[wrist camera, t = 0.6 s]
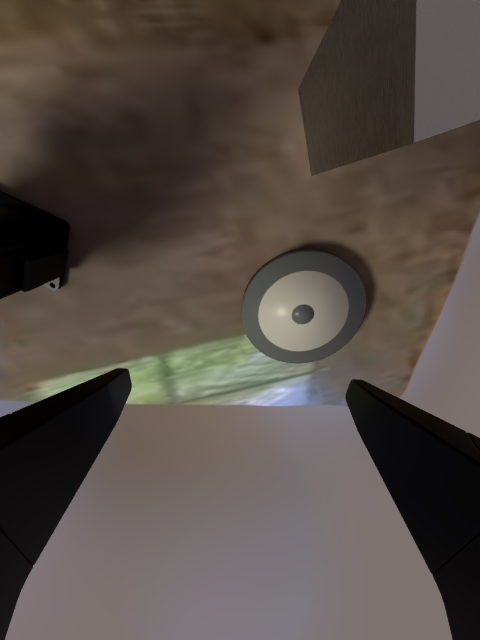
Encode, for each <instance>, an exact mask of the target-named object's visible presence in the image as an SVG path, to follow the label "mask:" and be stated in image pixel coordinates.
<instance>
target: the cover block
mask: <svg viewBox="0 0 480 640" xmlns="http://www.w3.org/2000/svg"><path fill="white" fill-rule="evenodd" d="M298 91H299V98H300V104H301V111H302V117H303V124H304V131H305V137H306V144H307V150H308V157H309V163H310V170H311V176H313V175H316V174H319V173H322V172H325V171H328V170H331V169H334V168H338V167H341V166H344V165H347V164H350V163H353V162H356V161H359V160H362V159H365V158H369V157H372V156H375V155H378V154H381V153H384V152H387V151H390V150H393V149H397V148H400V147H403V146H406V145H409V144H412V143H415V142H418V141H421V140H424V139H426V138H429V137H432V136H435V135H438V134H441V133H444V132H446V131H449V130H452V129H455V128H458V127H461V126H464V125H466V124H469V123H472V122H475V121H478V120H480V0H341V1H340V3H339V5H338V8H337V10H336V12H335V14H334V16H333V18H332V20H331V22H330V24H329V26H328V28H327V30H326V33H325V35H324V37H323V39H322V41H321V43H320V45H319V47H318V49H317V51H316V53H315V55H314V58H313V60H312V62H311V64H310V66H309V68H308V70H307V72H306V74H305V76H304V78H303V80H302V83H301V85H300V87H299V89H298Z"/></svg>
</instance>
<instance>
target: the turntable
mask: <svg viewBox="0 0 480 640" xmlns="http://www.w3.org/2000/svg"><path fill="white" fill-rule="evenodd" d="M365 311H366V293H365V288H364V286H363V283H362V281H361V279H360V277H359V275H358V274H357V273H356V272H355V270H354V269H353V268H352V267H351V266H349V265H348V264H347V263H346V262H344V261H343V260H341V259H340V258H338V257H336V256H335V255H332V254H330V253H328V252H324V251H321V250H314V249H301V250H294V251H290V252H286V253H284V254H281V255H279V256H277V257H275V258H273V259H272V260H270V261H269V262H267V263H266V264H264V265H263V266H262V267H261V268H260V269H259V270H258V271H257V272H256V273H255V275H254V276H253V277H252V279H251V280H250V282H249V283H248V285H247V288H246V290H245V293H244V296H243V302H242V322H243V327H244V330H245V332H246V334H247V337H248V338H249V340H250V341H251V343H252V344H253V345H254V346H255V347H256V348H257V349H258V350H259V351H260V352H262V353H263V354H265V355H266V356H268V357H270V358H273V359H275V360H278V361H282V362H287V363H308V362H313V361H317V360H320V359H323V358H325V357H328V356H330V355H331V354H333V353H335V352H337V351H338V350H340V349H341V348H342V347H343V346H345V345H346V344H347V343H348V342H349V341H350V340H351V339H352V338H353V336H354V335H355V334H356V332H357V331H358V329H359V327H360V326H361V323H362V321H363V318H364V315H365Z"/></svg>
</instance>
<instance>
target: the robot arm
mask: <svg viewBox="0 0 480 640" xmlns="http://www.w3.org/2000/svg"><path fill="white" fill-rule="evenodd" d="M60 224H61V225H62V226H63V228H61V227H60ZM68 234H69V225H68V223H67V222H66V221H65V220H63V219H61V218H59V217H56V216H54V215H52V214H50V213H48V212H45V211H43V210H41V209H39V208H37V207H35V206H32V205H30V204H28V203H26V202H24V201H22V200H19V199H17V198H15V197H13V196H11V195H9V194H6V193H4V192H2V191H0V299H2V298H4V297H7V296H9V295H11V294H14V293H16V292H19V291H23V292H27V291H30V290H32V289H34V288H37V287H39V286H44V287H46V288H48V289H51V290H58V289H60V288H61V286H62V278H63V276H64V274H65V267H66V260H67V253H68V250H67V241H68ZM53 283H54V284H55V286H54V285H53ZM131 388H132V384H131V379H130V374H129V370H128V369H124V368H117V369H115V370H112V371H110V372H107V373H105V374H103V375H100V376H98V377H96V378H93V379H91V380H89V381H86V382H84V383H81V384H79V385H77V386H74V387H72V388H70V389H67V390H65V391H63V392H60V393H58V394H55V395H53V396H51V397H48V398H46V399H44V400H41V401H39V402H37V403H34V404H32V405H30V406H27V407H25V408H22V409H20V410H18V411H15V412H13V413H12V414H7V415H5V416H2V417H0V640H5V636H6V634H7V631H8V627H9V624H10V621H11V618H12V615H13V612H14V609H15V606H16V603H17V600H18V597H19V595H20V592H21V589H22V587H23V585H24V583H25V581H26V579H27V577H28V575H29V573H30V571H31V570H32V568H33V565H34V564H35V563H36V561H37V559H38V558H39V556H40V554H41V552H42V551H43V549H44V547H45V546H46V544H47V542H48V540H49V538H50V537H51V535H52V533H53V532H54V530H55V528H56V527H57V525H58V523H59V521H60V519H61V518H62V516H63V514H64V513H65V511H66V509H67V508H68V506H69V504H70V502H71V501H72V499H73V497H74V496H75V493H76V492H77V490H78V489H79V487H80V485H81V484H82V482H83V480H84V478H85V477H86V475H87V473H88V471H89V470H90V468H91V466H92V465H93V463H94V461H95V459H96V458H97V456H98V454H99V453H100V451H101V449H102V447H103V445H104V444H105V442H106V441H107V439H108V437H109V435H110V434H111V432H112V430H113V428H114V427H115V425H116V423H117V421H118V419H119V417H120V415H121V412H122V410H123V408H124V405H125V403H126V401H127V399H128V396H129V394H130V392H131ZM346 402H347V404H348V407H349V409H350V412H351V415H352V417H353V420H354V422H355V425H356V427H357V430H358V432H359V434H360V436H361V438H362V440H363V442H364V444H365V446H366V448H367V450H368V452H369V454H370V456H371V458H372V459H373V461H374V463H375V465H376V467H377V469H378V471H379V473H380V475H381V477H382V479H383V481H384V483H385V485H386V487H387V489H388V490H389V492H390V494H391V496H392V498H393V500H394V502H395V504H396V506H397V508H398V510H399V512H400V514H401V516H402V517H403V519H404V521H405V523H406V525H407V527H408V529H409V531H410V533H411V535H412V537H413V539H414V541H415V543H416V545H417V547H418V549H419V551H420V552H421V554H422V556H423V558H424V560H425V562H426V564H427V566H428V568H429V570H430V572H431V573H432V574H433V577H434V579H435V582H436V584H437V586H438V588H439V590H440V593H441V596H442V599H443V602H444V605H445V609H446V613H447V617H448V622H449V626H450V630H451V634H452V639H453V640H480V438H479V437H477V436H475V435H473V434H471V433H466V432H465V431H464V430H462V429H460V428H458V427H455V426H454V425H452V424H450V423H448V422H446V421H444V420H442V419H440V418H438V417H436V416H434V415H432V414H430V413H428V412H426V411H423V410H421V409H420V408H417V407H415V406H414V405H411V404H410V403H408V402H406V401H404V400H402V399H400V398H398V397H396V396H394V395H392V394H389V393H387V392H385V391H383V390H381V389H379V388H377V387H375V386H373V385H371V384H369V383H367V382H365V381H363V380H357V379H353V380H351V382H350V384H349V387H348V389H347V392H346Z"/></svg>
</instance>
